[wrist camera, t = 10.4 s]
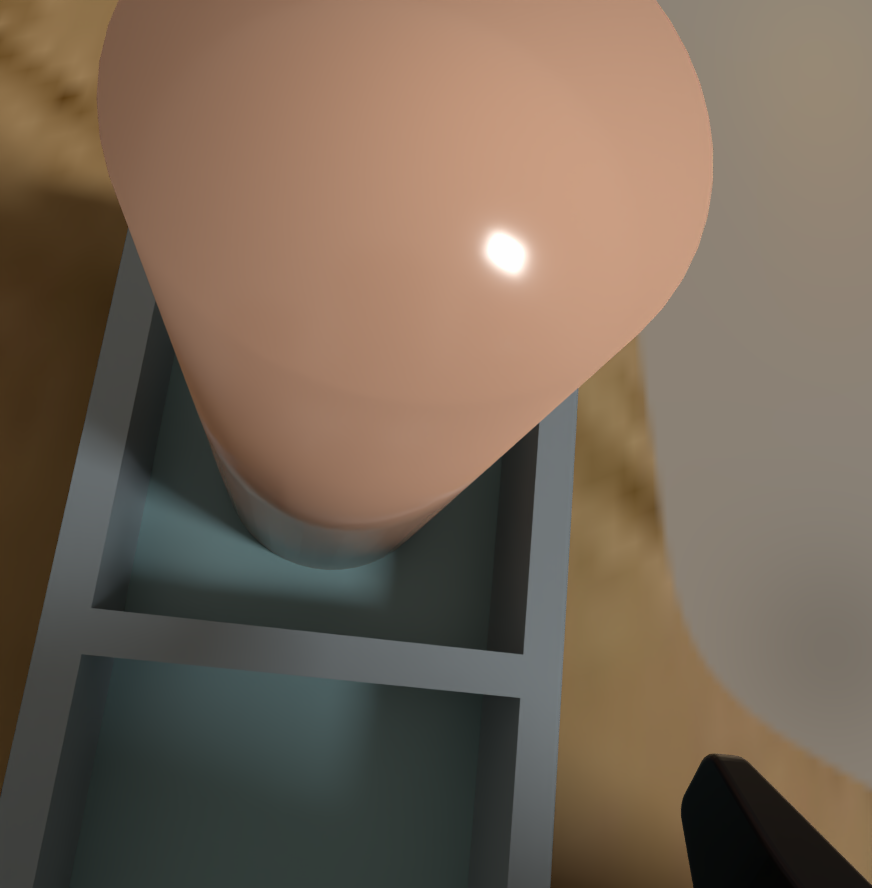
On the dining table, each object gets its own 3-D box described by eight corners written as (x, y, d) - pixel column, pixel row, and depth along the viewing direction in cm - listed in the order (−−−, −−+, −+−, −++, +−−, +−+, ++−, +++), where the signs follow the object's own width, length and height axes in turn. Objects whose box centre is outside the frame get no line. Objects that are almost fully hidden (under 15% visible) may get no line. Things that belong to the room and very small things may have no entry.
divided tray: (479, 1141, 17) (529, 1266, 13) (-21, 1134, 15) (-106, 1270, 12) (539, 314, 21) (585, 252, 18) (165, 250, 20) (141, 169, 17)
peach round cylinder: (481, 472, 20) (823, 165, 7) (324, 616, 18) (407, 545, 6) (343, 321, 20) (439, -227, 7) (177, 451, 18) (-50, 40, 6)
